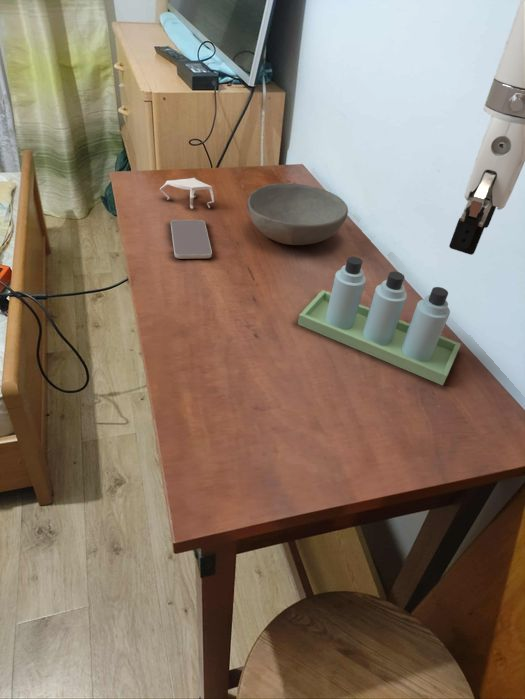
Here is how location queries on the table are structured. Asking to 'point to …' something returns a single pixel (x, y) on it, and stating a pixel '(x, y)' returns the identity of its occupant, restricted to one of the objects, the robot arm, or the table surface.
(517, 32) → the robot arm
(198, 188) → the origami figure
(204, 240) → the smartphone
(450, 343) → the tray
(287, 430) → the table surface
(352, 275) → the row bottle back
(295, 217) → the bowl
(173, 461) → the table surface
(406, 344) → the loose bottle
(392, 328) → the row bottle middle
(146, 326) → the table surface
